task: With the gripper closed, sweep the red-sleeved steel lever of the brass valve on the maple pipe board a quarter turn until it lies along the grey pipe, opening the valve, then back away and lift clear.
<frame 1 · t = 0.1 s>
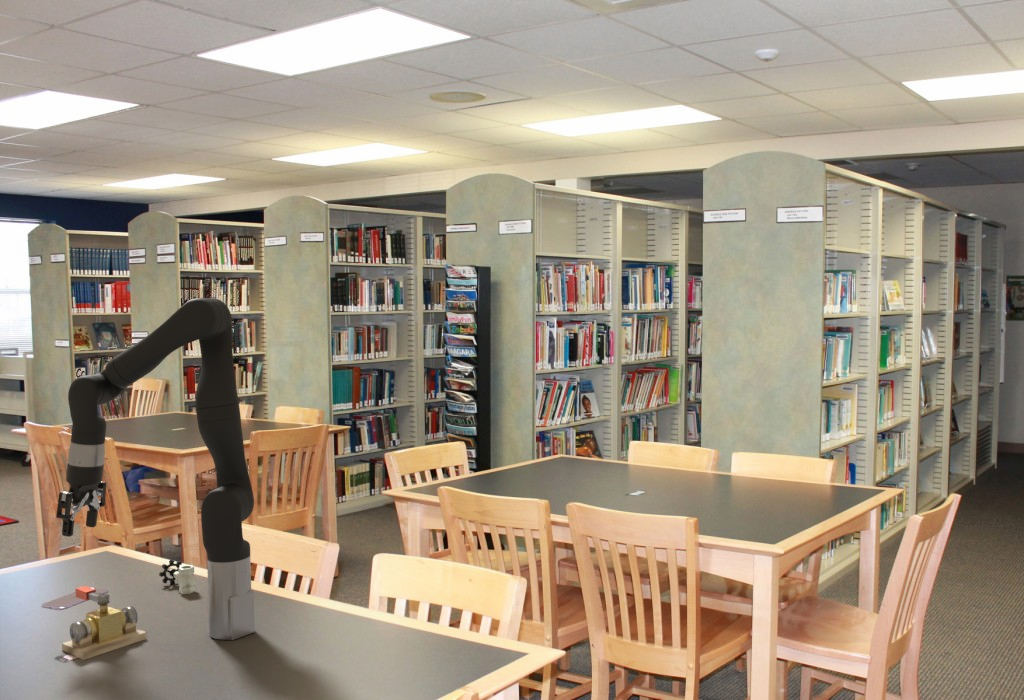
hand: (79, 531, 200), 22 cm above the table, tool pointing down, fingers open, 8 cm apart
pipe board: (105, 644, 191), on the table
mobile phone: (75, 600, 222), on the table
valve body: (104, 620, 190), point 5 cm above the table
valve lever: (93, 595, 193), point 10 cm above the table, hinge at 0.0°
valve: (180, 589, 229), on the table
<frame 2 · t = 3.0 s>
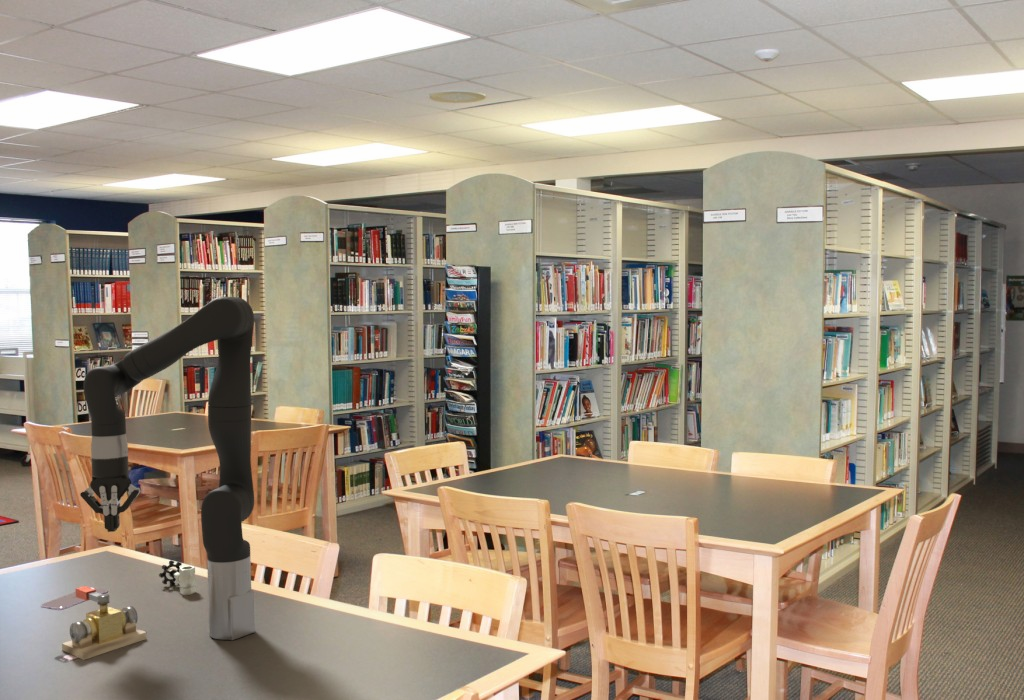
hand: (112, 530, 197), 23 cm above the table, tool pointing down, fingers closed
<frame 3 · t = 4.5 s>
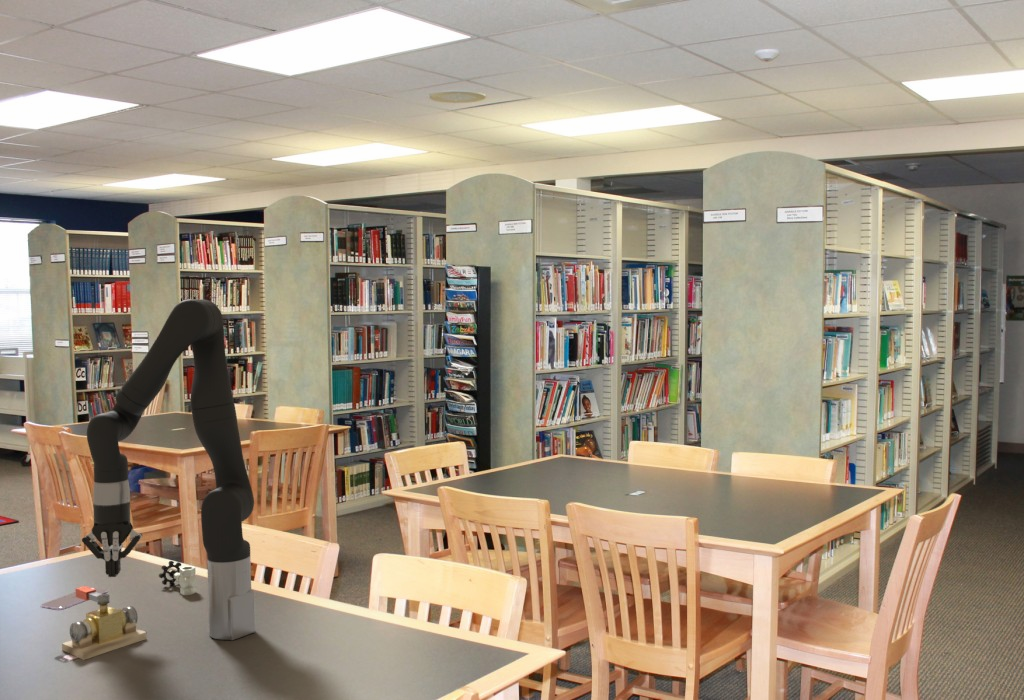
hand: (113, 575, 198), 13 cm above the table, tool pointing down, fingers closed
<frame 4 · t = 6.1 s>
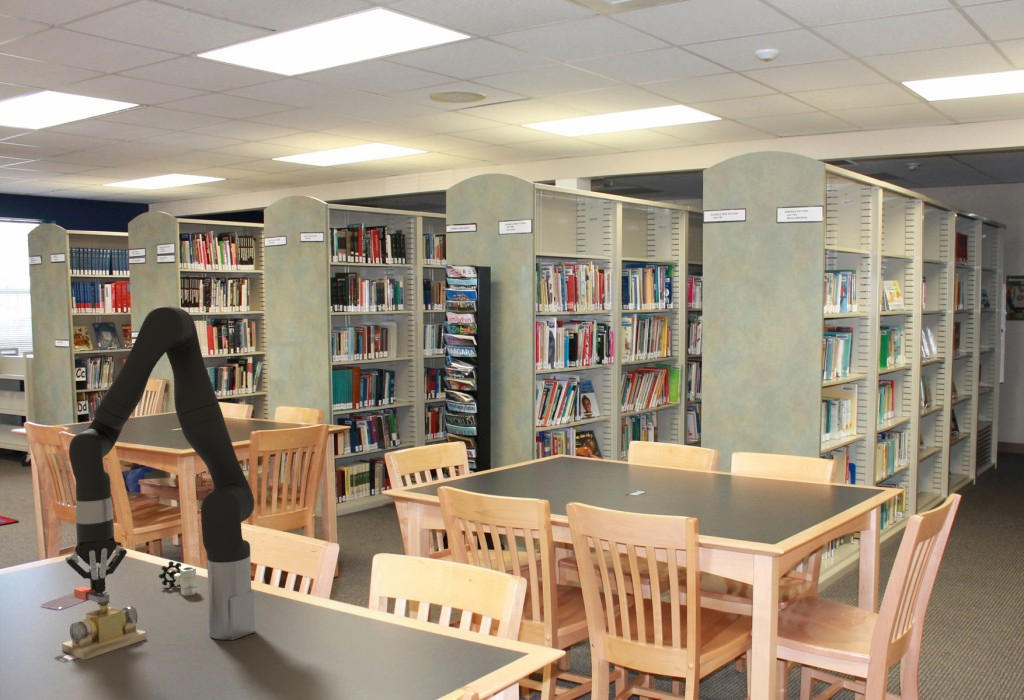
hand: (98, 594, 197), 9 cm above the table, tool pointing down, fingers closed
valve lever: (92, 596, 192), point 10 cm above the table, hinge at 1.9°, touching gripper
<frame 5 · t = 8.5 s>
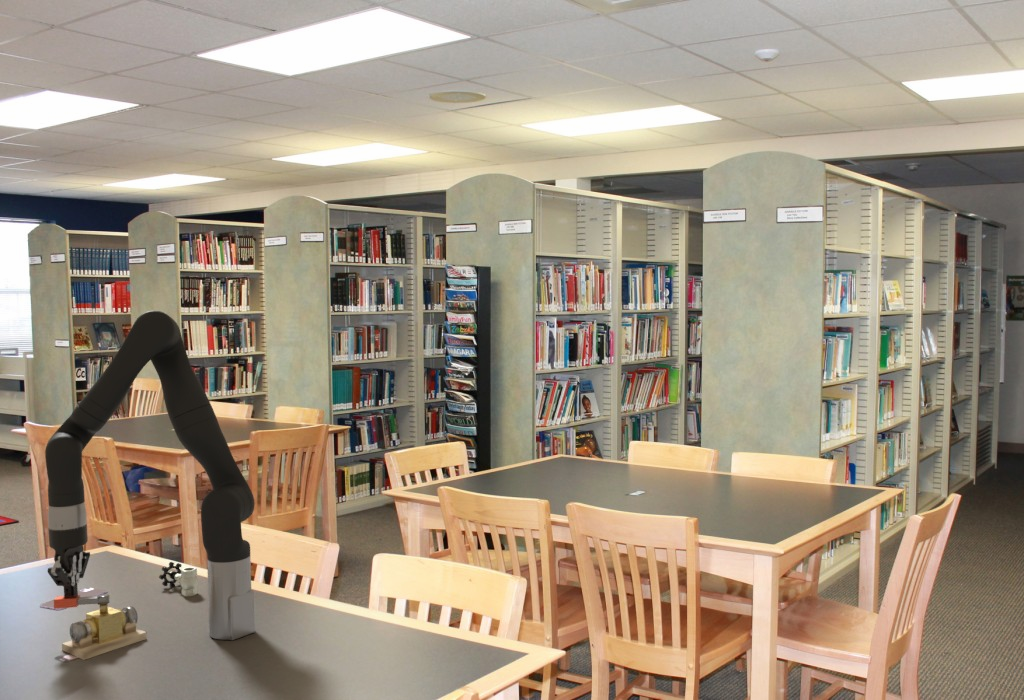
hand: (71, 601, 192), 9 cm above the table, tool pointing down, fingers closed
valve lever: (82, 600, 189), point 10 cm above the table, hinge at 45.4°, touching gripper
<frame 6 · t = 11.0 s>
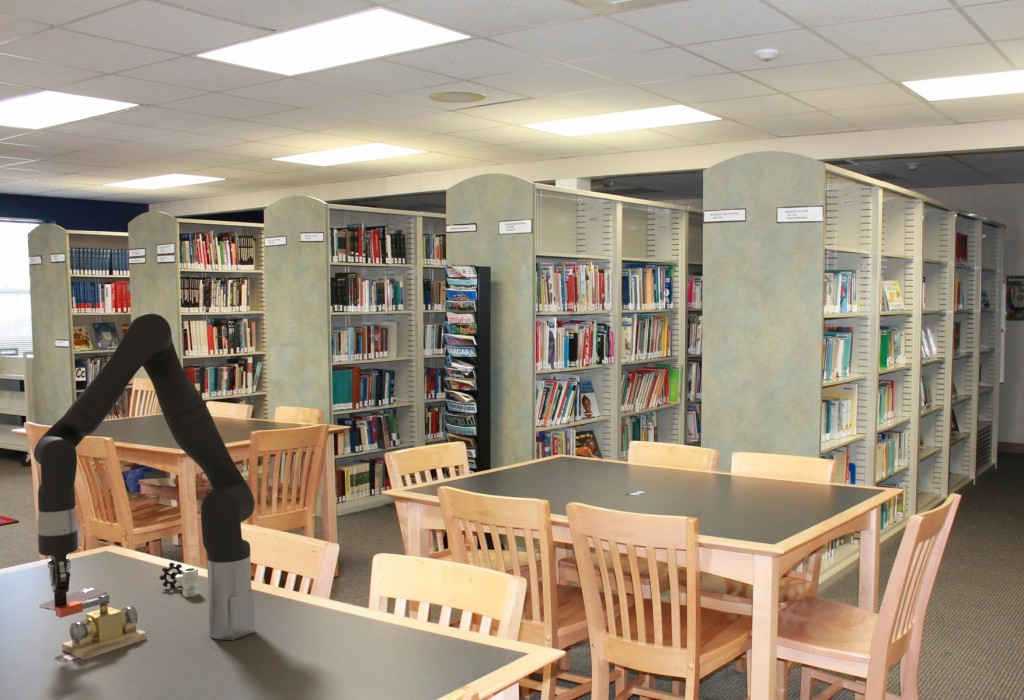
hand: (60, 609, 187), 9 cm above the table, tool pointing down, fingers closed
valve lever: (84, 604, 187), point 10 cm above the table, hinge at 89.6°
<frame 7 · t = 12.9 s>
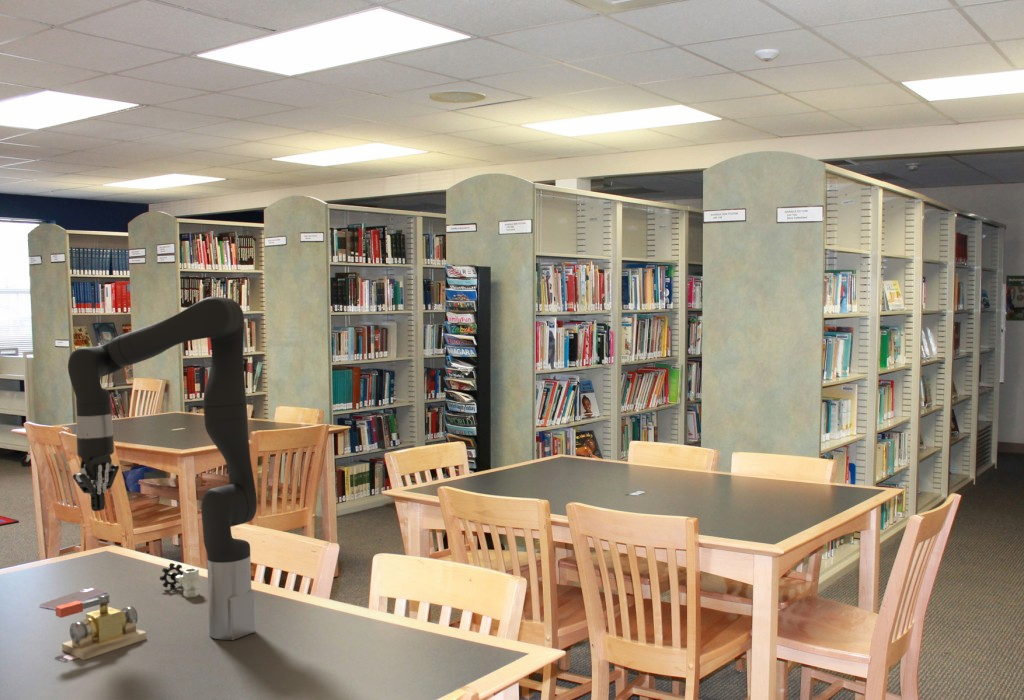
hand: (98, 510, 199), 27 cm above the table, tool pointing down, fingers closed
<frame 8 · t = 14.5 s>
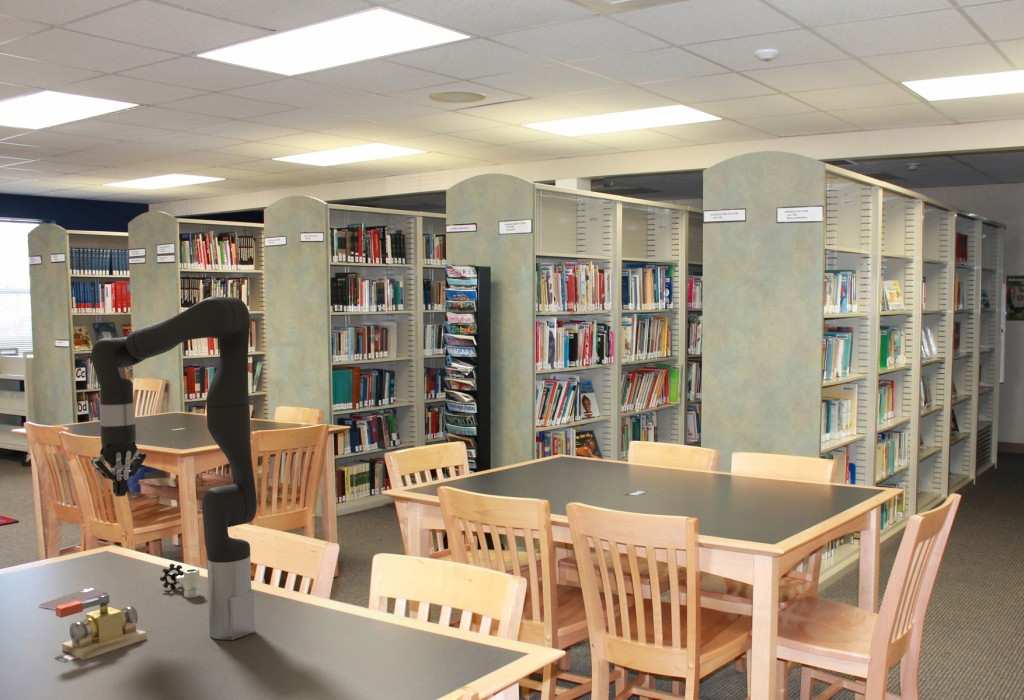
hand: (120, 495, 207), 29 cm above the table, tool pointing down, fingers closed
at the end: valve lever at +90° (first picture: +0°) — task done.
